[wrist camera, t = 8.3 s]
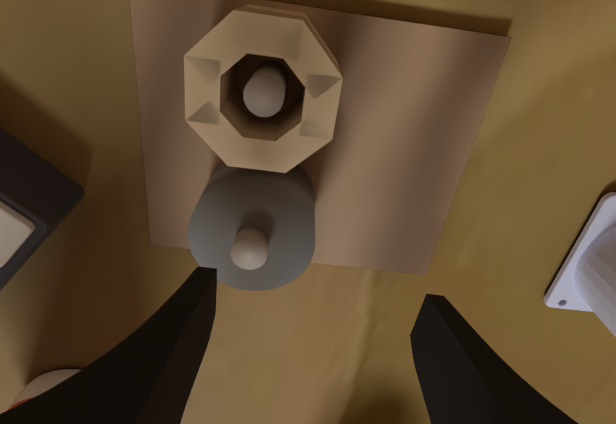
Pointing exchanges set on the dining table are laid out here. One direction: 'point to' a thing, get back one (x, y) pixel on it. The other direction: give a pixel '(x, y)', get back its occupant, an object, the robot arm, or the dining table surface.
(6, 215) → the red white black box
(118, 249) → the dining table surface
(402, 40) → the gear board
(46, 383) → the fruit juice
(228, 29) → the maple gear
